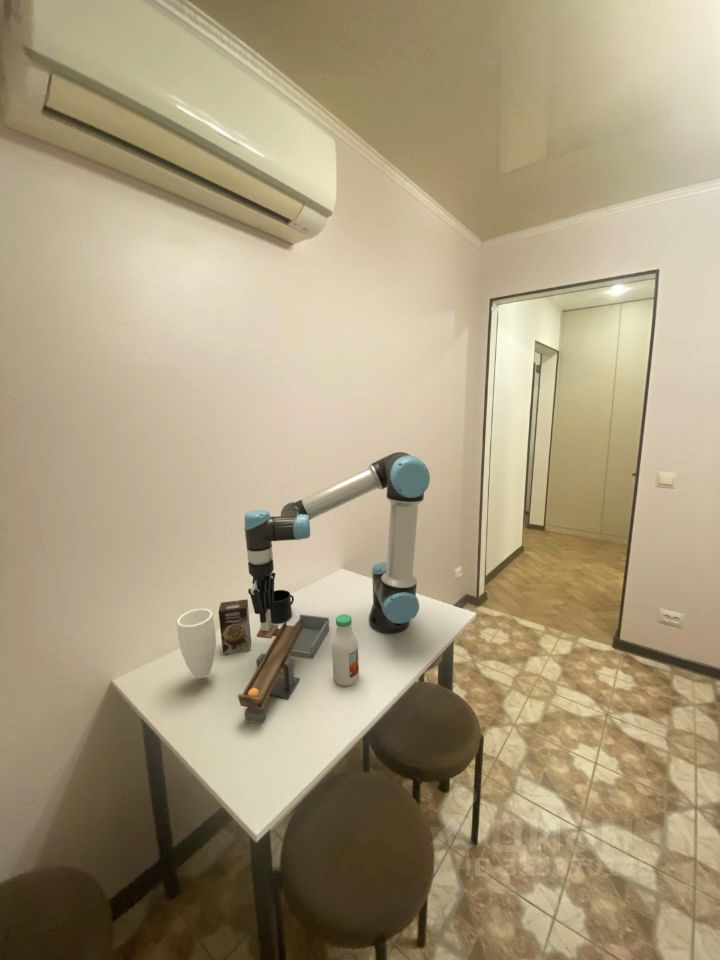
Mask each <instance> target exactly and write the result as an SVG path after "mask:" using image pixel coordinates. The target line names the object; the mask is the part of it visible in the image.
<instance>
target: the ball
mask: <svg viewBox="0 0 720 960" xmlns="http://www.w3.org/2000/svg"><path fill="white" fill-rule="evenodd" d="M247 695H249V696H254V697H259V691H258V689H256V688H252V689H250V690H249V691H248V694H247Z"/></svg>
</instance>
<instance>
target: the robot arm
mask: <svg viewBox="0 0 720 960" xmlns="http://www.w3.org/2000/svg"><path fill="white" fill-rule="evenodd" d="M430 482H431V476H430V471H429V469H428V467H427V465H426V464H425V463H424V462H423V461H422V460H421V459H419V458H418V457H415V456H412V455H411V454H408V453H407V452H403V451H399V452H393V453H392V454H391V453H390V454H388V455H386V456H384V457H382V458H380V459H378V460H376V461H374V462H373V463H370V464H369V466H368V467H367V468H366V469H364V470H362V471H359V472H358V473H356V474H354V475H353V474H352V475H351V476H349V477H347V478H344V479H343V480H340V481H338V482H337V483H334V484H332V485H330V486H327V487H325V488H322V489H321V490H318V491H317V492H315V493H313V494H311V495H308V496H306V497H304V498H302V499H300V500H297V501H291V502H290V501H289V502H288V503H286V504H285V505H284V506H283V507H282V509H281V510H280V511H281V513H280V516H278V515H277V516H273V515H272V516H271V514H270V511H268V510H267V509H253V510H250V511H248V512H246V513H245V514H244V517H243V518H244V536H245V544H246V552H247V560H248V563H247V566H248V567H247V568H248V574H249V575H251V577H252V587H251V588H248V590H247V591H248V594H249V596H250V599H251V604H252V607H253V611H254V614H255V615H259V621H260V628H261V630H264V631H269V630H270V629H271V628H272V626H271V624H272V622H271V613H270V608H271V609H273V606H272V605H271V604H273V603H274V591H275V580H276V578H275V577H276V573H275V572H273V571H274V570H275V569H274V568H275V567H274V552H273V543H272V542H280V541H281V542H282V541H283V542H285V541H300V540H305V539H309V538H310V537H311V524H310V520H313V519H314V518H317V517H319V516H321V515H323V514H325V513H328V512H330V511H331V510H334V509H336V508H338V507H340V506H342V505H344V504H346V503H349V502H351V501H353V500H355V499H357V498H360V497H362V496H363V495H366V494H369V493H371V492H373V491H375V490H377V489H379V490H381V491H382V490H384V489H386V499H387V500H388V501H389V502H390V515H389V528H388V542H387V544H388V545H387V556H386V557H387V560H386V561H383V562H378V563H376V564H374V565H373V567H372V570H371V571H372V572H371V576H372V579H371V580H372V601H373V602H372V605H371V606H372V607H371V608H370V612H369V615H368V624H369V627H370V628H372V629H373V630H374V631H376V632H379V633H383V634H397V633H401V632H403V631H405V630H406V629H407V628H408V627H409V626H410V621H411V620H412V619H414V618H415V617H416V616H417V614H418V613H419V610H420V601H419V598H418V597H417V585H418V584H417V583H418V580H417V578H416V577H415V575H414V574H413V573H414V563H415V562H414V560H415V550H416V536H417V525H418V524H417V523H418V512H419V511H418V510H419V505H420V504H421V503H422V502H423V501H424V495H425V492H426V491H427V489H428V488H429V485H430Z"/></svg>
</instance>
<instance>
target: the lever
mask: <svg viewBox="0 0 720 960" xmlns="http://www.w3.org/2000/svg"><path fill="white" fill-rule="evenodd" d="M271 626H272V628H271V629H270V630H269V631H264V630H261V627H260V629H258V632H257V633H256V637H257V638H262V639H270V640H271V639H272V638H273V637H274V639H273V640H272V643H271V644H270V645H269V647H268V649H267V651H266V652H265V653H264V654H265V656H264V658H263V659H262V661H261V663H260V665H259V666H258V668H257V667H256V670H255V672H254V673H253V675H252V677H251V678H250V681H249V682H248V683H247V685H246V686H245V688H244V691H243V692H242V693H238V695H237V697H238V701H239V705H240V707H243V708H248V707H249V708H254V709H259V710H262V709H264V706H265V704H266V702H267V700H268V698H269V697H270V696H269V694H270V692H271V690H272V688H273V686H274V684H275V683H276V681H277V679H278V677H279V675H281V673H282V671H283V670H284V665H283V664H284V663H285V661H286V660H287V658H288V657H289V658H290V656H291V655H290V653H291V651H292V649H293V647H294V645H295V643H296V641H297V639H298V637H299V635H300V633H301V632H302V630H303V628H302V624H301V623H300V624H299V626H298V627H297V626H294V625H289V624H287V621H284V622H282V625H281V627H280V628H279V626H278V625H277V624H273V623H271ZM252 688H256V689H258V691H259V697H254V696H249V695H247V694H248V691H249V690H250V689H252Z"/></svg>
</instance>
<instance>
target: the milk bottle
mask: <svg viewBox="0 0 720 960" xmlns="http://www.w3.org/2000/svg"><path fill="white" fill-rule="evenodd" d="M352 621H353V620H352V616H351V615H349V614H347V613H343V614H339V615H337V616H336V617H335V626H336V630H335V633H334V636H333V638H332V643H331V651H332V652H331V654H332V655H331V657H332V674H333V681H334V682H335V683H336V684H337V685H339V686H342V687H349V686H353V685H355V684H356V683H357V681H358V680H359V678H360V667H359V666H360V665H359V660H360V659H359V647H358V638H357V636H356V634H355V632H354V631H353V628H352V624H353V623H352Z"/></svg>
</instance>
